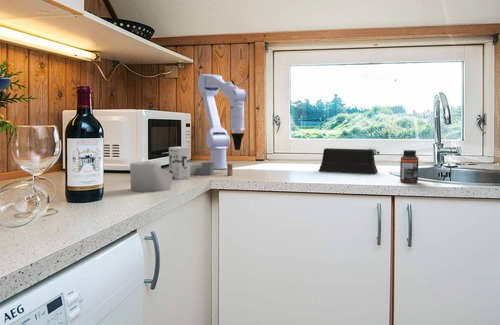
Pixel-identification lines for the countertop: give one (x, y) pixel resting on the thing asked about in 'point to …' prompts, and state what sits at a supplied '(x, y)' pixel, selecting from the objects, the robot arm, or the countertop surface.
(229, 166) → the tan small pieces
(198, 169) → the grey faceted block
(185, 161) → the ink box
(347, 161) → the black broom head
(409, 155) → the supplement bottle
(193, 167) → the pale green bar
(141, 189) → the grey sloped wedge
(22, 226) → the countertop surface
